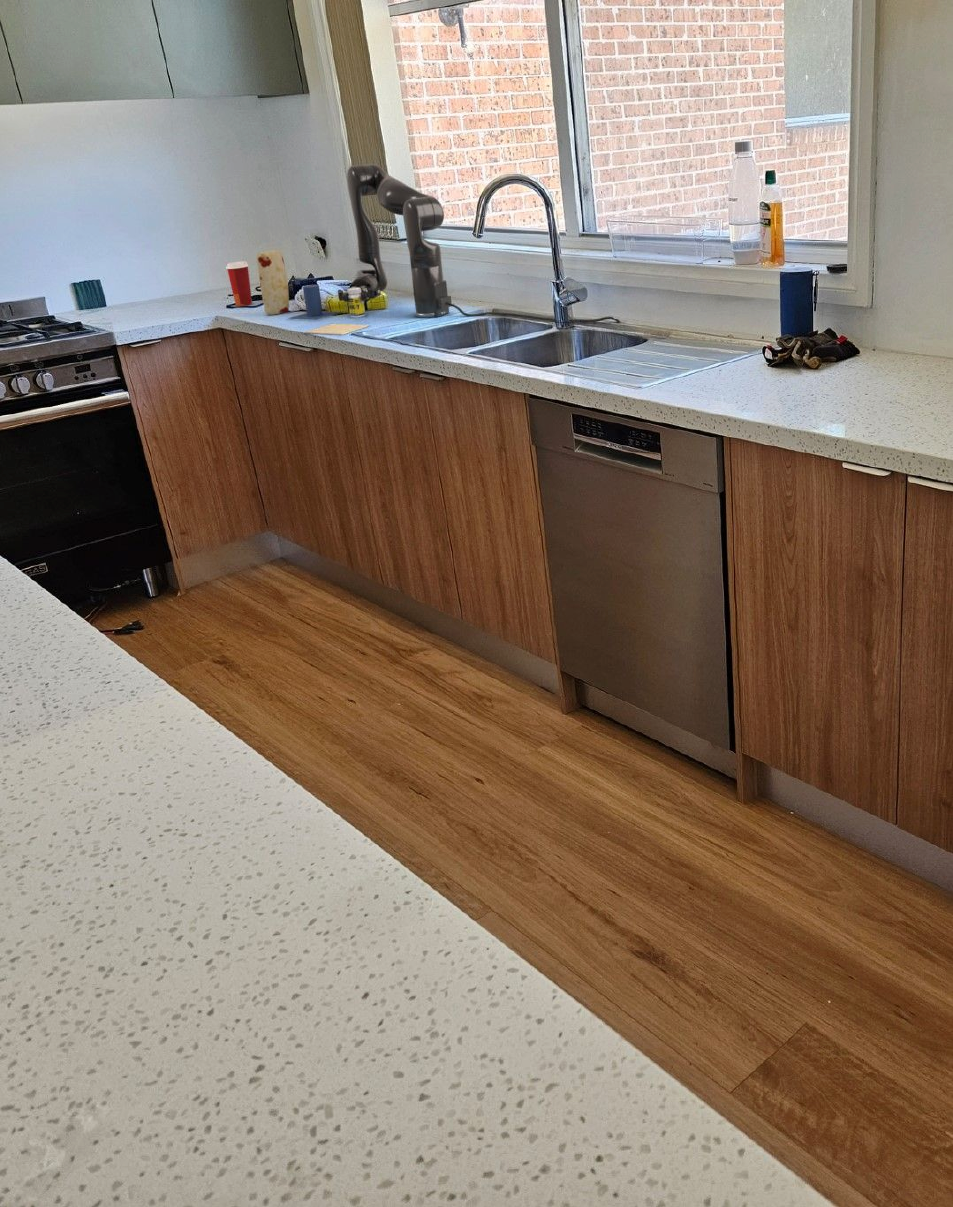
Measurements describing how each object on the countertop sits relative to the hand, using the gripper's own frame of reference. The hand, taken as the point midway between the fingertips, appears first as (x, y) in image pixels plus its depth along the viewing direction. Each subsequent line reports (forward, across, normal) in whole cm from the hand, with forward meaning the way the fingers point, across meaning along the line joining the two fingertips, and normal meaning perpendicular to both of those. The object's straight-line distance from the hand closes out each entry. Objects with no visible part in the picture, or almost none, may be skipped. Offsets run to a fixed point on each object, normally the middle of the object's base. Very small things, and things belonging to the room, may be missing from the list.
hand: (353, 298), depth 328 cm
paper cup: (-43, -47, +6) cm, 64 cm away
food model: (-18, -29, +6) cm, 35 cm away
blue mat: (-9, -15, +6) cm, 18 cm away
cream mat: (+16, -3, +6) cm, 18 cm away
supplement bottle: (-3, 0, +6) cm, 7 cm away
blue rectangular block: (-9, -15, +6) cm, 18 cm away
